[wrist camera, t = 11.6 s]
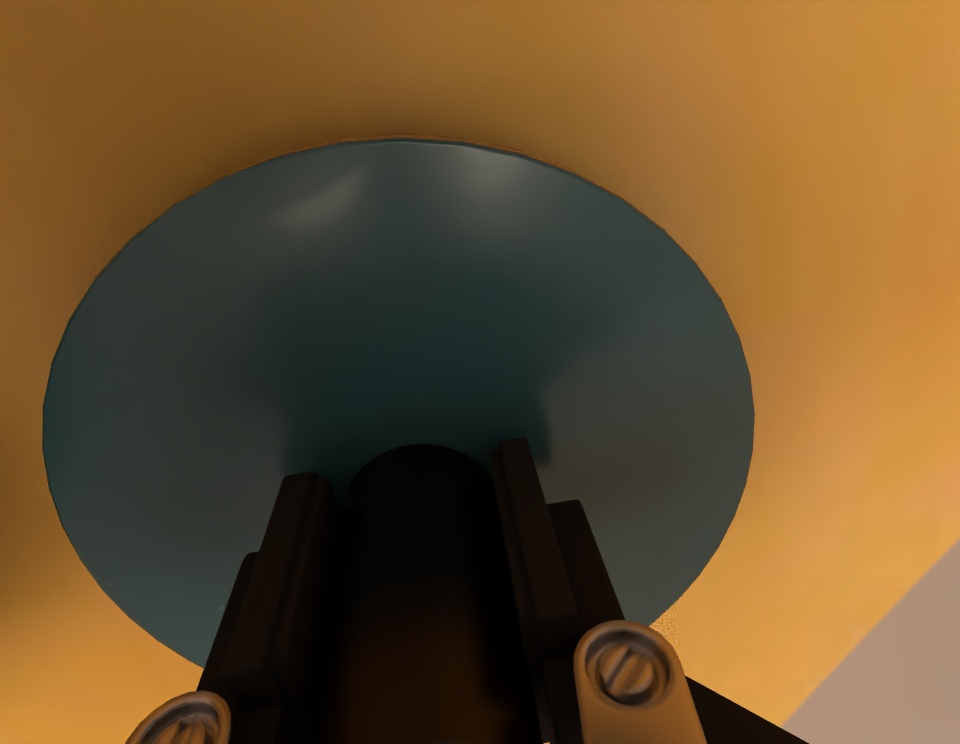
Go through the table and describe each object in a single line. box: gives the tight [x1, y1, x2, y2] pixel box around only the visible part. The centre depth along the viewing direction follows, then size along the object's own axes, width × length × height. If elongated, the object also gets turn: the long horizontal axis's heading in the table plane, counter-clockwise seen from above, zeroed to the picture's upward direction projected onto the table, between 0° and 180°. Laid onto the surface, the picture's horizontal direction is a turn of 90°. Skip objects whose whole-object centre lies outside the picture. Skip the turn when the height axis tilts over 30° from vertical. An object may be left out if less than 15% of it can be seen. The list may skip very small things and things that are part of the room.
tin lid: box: [42, 134, 755, 744], centre depth 10 cm, size 14×14×7 cm
